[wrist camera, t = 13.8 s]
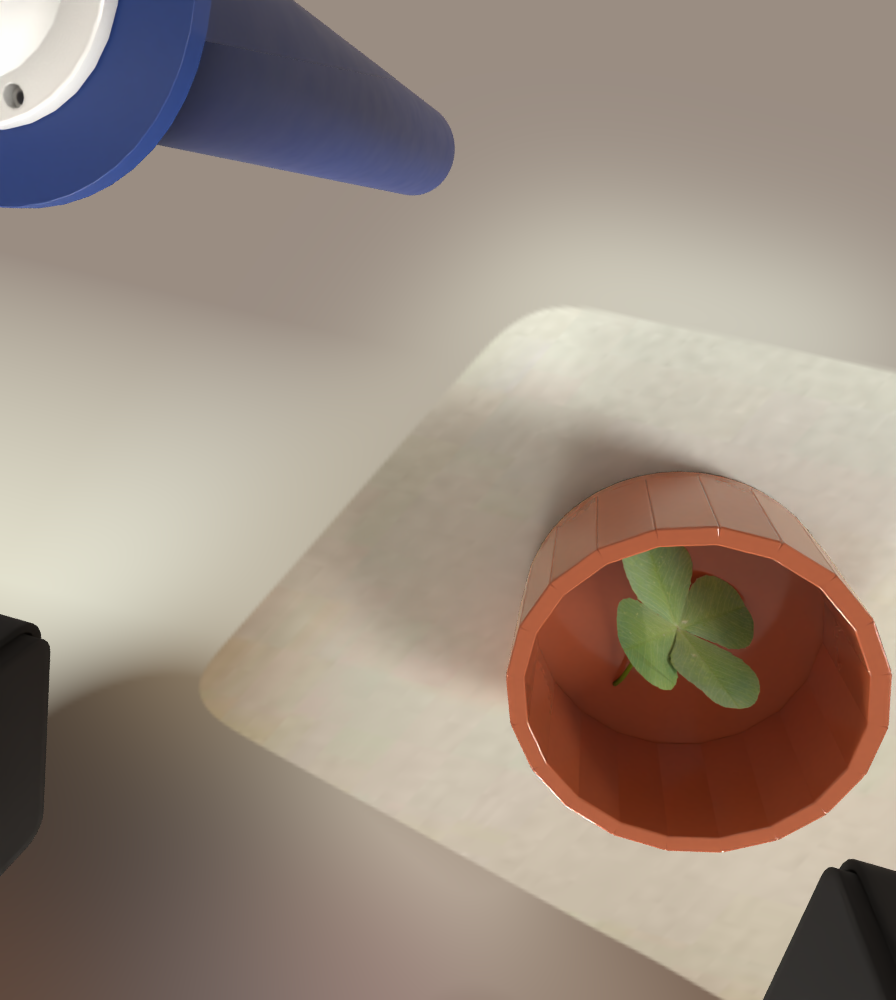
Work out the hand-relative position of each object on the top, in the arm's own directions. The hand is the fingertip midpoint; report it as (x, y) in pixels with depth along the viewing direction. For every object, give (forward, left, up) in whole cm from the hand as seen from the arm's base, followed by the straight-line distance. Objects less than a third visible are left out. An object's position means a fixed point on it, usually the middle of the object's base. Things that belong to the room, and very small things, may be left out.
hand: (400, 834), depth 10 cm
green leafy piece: (+7, -7, -26) cm, 28 cm away
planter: (+8, -8, -26) cm, 29 cm away
